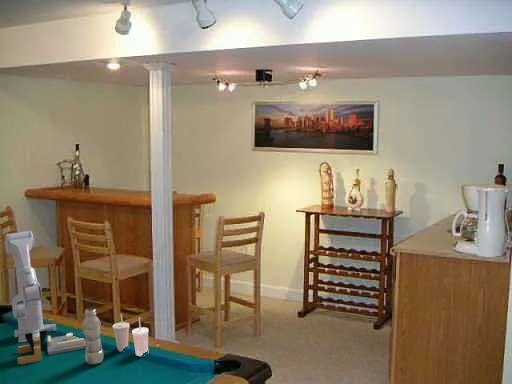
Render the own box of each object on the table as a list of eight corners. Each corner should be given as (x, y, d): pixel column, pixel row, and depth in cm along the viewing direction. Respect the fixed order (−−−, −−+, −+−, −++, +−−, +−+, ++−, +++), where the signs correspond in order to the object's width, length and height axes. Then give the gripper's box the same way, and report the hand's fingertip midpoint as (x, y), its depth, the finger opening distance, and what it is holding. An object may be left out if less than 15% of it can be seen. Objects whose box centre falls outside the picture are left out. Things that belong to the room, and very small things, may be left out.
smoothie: (127, 353, 213) (124, 317, 211) (111, 352, 215) (108, 317, 213) (134, 346, 220) (131, 311, 218) (118, 345, 221) (115, 310, 219)
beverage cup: (138, 358, 209) (136, 321, 207) (130, 353, 213) (127, 317, 211) (153, 353, 213) (150, 317, 210) (145, 348, 217) (142, 313, 215)
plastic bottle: (87, 368, 202) (82, 314, 199) (84, 361, 208) (79, 308, 205) (106, 364, 205) (101, 310, 202) (101, 357, 211) (97, 305, 208)
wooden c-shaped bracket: (18, 365, 208) (16, 352, 207) (18, 352, 219) (17, 340, 218) (41, 360, 210) (40, 347, 210) (40, 348, 222) (39, 336, 221)
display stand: (46, 341, 228) (46, 333, 227) (91, 333, 234) (90, 325, 234) (48, 355, 215) (47, 346, 214) (94, 346, 221) (94, 338, 221)
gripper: (12, 323, 207) (16, 359, 209) (55, 316, 212) (58, 351, 214) (13, 317, 214) (17, 351, 216) (54, 310, 219) (57, 344, 221)
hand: (37, 351), depth 215 cm, fingers closed on wooden c-shaped bracket, 2 cm apart
